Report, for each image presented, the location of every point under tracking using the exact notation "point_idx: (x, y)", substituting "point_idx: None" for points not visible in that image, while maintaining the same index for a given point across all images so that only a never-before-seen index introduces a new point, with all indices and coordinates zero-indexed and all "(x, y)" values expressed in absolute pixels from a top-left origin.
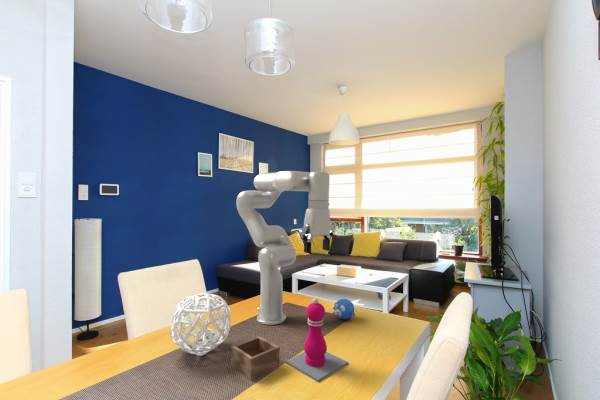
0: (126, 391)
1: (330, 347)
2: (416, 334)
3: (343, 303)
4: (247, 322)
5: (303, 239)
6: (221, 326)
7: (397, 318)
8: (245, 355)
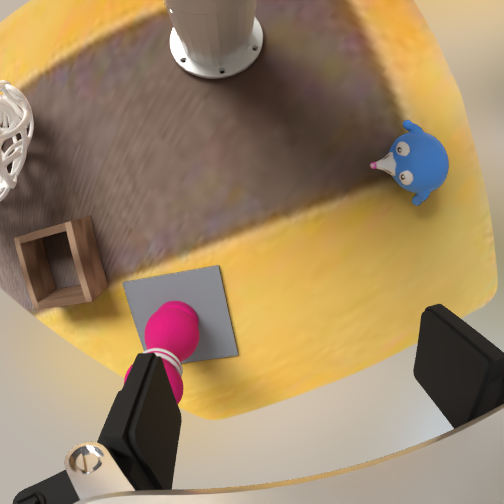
0: None
1: (253, 280)
2: None
3: (419, 174)
4: (147, 30)
5: (64, 489)
6: None
7: (485, 247)
8: (28, 290)
